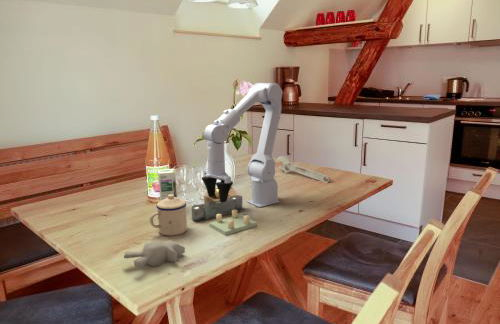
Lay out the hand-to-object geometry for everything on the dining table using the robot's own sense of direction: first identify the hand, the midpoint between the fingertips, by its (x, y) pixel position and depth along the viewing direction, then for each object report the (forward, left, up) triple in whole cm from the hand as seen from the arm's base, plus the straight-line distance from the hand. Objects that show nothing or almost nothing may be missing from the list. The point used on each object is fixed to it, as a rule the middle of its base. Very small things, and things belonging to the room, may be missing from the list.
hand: (217, 198), depth 137 cm
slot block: (-6, -9, -6) cm, 12 cm away
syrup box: (+11, -16, -6) cm, 20 cm away
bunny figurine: (+31, +19, -6) cm, 37 cm away
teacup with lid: (+20, +3, -6) cm, 21 cm away
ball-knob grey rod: (0, 0, -6) cm, 6 cm away
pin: (-6, -9, -6) cm, 12 cm away
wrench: (-56, -17, -6) cm, 59 cm away
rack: (+2, +12, -6) cm, 13 cm away
